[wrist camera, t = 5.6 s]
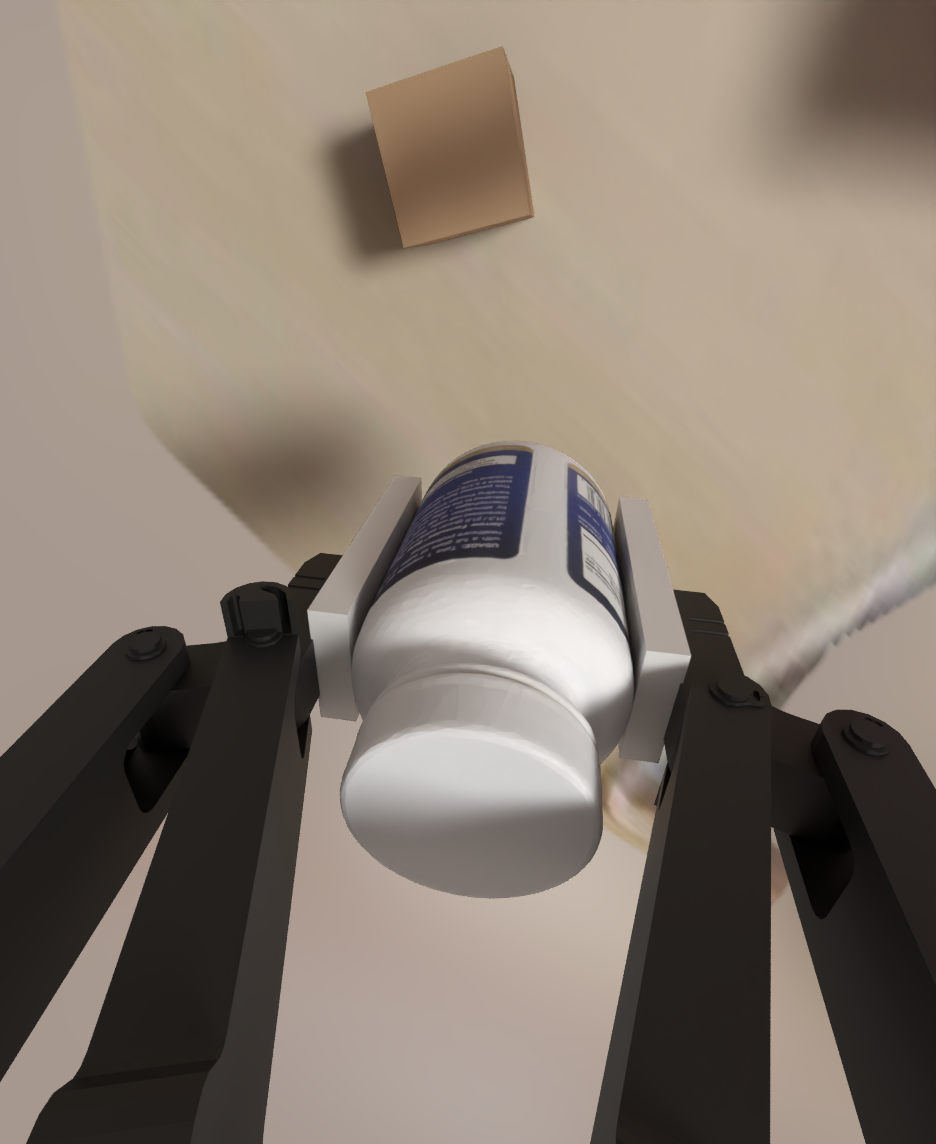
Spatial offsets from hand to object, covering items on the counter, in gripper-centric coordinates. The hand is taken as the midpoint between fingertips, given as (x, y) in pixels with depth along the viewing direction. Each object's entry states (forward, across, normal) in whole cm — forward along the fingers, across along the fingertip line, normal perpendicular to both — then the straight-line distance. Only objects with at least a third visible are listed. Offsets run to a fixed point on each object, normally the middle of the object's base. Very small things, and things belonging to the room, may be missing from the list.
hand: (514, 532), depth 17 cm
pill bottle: (+1, 0, 0) cm, 1 cm away
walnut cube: (+16, -4, +9) cm, 19 cm away
